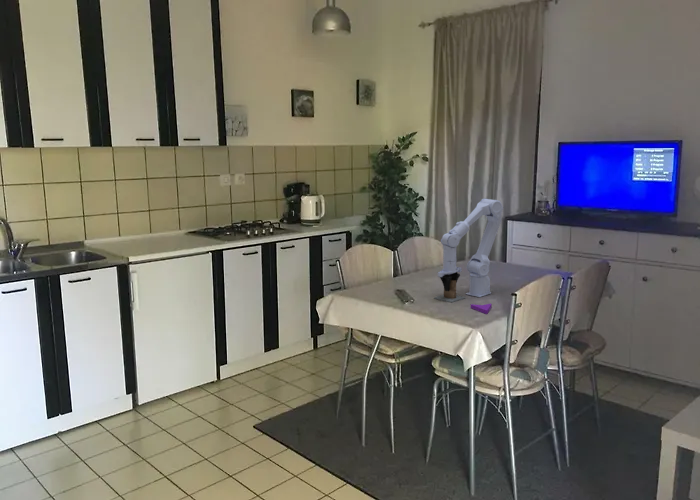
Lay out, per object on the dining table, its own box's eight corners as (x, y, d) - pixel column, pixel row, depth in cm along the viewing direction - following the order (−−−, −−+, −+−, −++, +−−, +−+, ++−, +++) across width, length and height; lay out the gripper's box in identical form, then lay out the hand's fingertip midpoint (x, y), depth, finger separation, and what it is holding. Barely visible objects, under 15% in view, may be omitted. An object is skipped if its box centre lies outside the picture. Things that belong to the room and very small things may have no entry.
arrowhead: (478, 301, 252) (499, 305, 246) (478, 304, 253) (499, 308, 246) (465, 306, 245) (487, 310, 238) (465, 309, 246) (486, 314, 239)
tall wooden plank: (447, 295, 266) (447, 278, 265) (456, 297, 262) (456, 280, 261) (443, 296, 265) (443, 279, 263) (452, 299, 261) (452, 281, 259)
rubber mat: (447, 294, 271) (447, 293, 271) (465, 298, 263) (465, 297, 263) (433, 298, 264) (433, 297, 264) (451, 302, 257) (451, 301, 257)
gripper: (452, 256, 268) (452, 285, 271) (432, 261, 259) (432, 291, 261) (465, 258, 263) (465, 288, 266) (444, 263, 254) (444, 294, 256)
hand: (449, 290), depth 263 cm, fingers open, 3 cm apart
